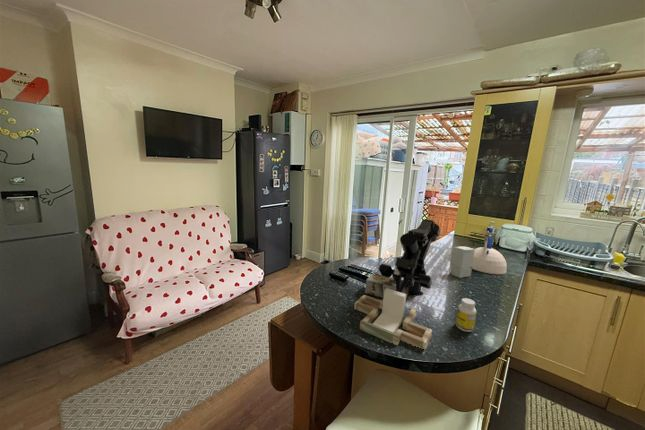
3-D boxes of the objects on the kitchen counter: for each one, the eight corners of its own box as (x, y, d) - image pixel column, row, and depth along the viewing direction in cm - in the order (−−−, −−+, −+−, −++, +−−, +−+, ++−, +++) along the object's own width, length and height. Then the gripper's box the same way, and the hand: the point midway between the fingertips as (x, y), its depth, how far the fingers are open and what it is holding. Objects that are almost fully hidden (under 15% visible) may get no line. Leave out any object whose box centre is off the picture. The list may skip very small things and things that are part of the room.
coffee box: (364, 293, 107) (403, 304, 100) (365, 279, 106) (405, 289, 99) (371, 286, 115) (408, 295, 108) (372, 272, 114) (410, 281, 107)
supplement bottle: (452, 322, 89) (456, 296, 88) (466, 322, 90) (470, 296, 88) (461, 332, 84) (466, 305, 82) (477, 332, 85) (481, 305, 83)
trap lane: (366, 297, 104) (367, 290, 104) (437, 322, 89) (438, 314, 89) (340, 321, 87) (341, 313, 87) (422, 356, 72) (423, 347, 72)
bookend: (384, 313, 93) (386, 288, 91) (403, 320, 89) (406, 294, 88) (371, 328, 84) (374, 300, 82) (392, 336, 80) (395, 307, 79)
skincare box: (459, 278, 129) (463, 250, 126) (449, 273, 134) (453, 246, 131) (471, 276, 132) (475, 248, 129) (460, 271, 137) (465, 245, 135)
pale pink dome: (505, 266, 150) (510, 236, 146) (507, 278, 132) (514, 244, 129) (465, 258, 160) (470, 230, 157) (463, 268, 143) (468, 237, 140)
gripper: (382, 243, 98) (368, 280, 92) (433, 254, 88) (422, 296, 81) (388, 257, 106) (375, 292, 99) (435, 269, 96) (425, 308, 89)
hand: (397, 296), depth 92 cm, fingers closed
